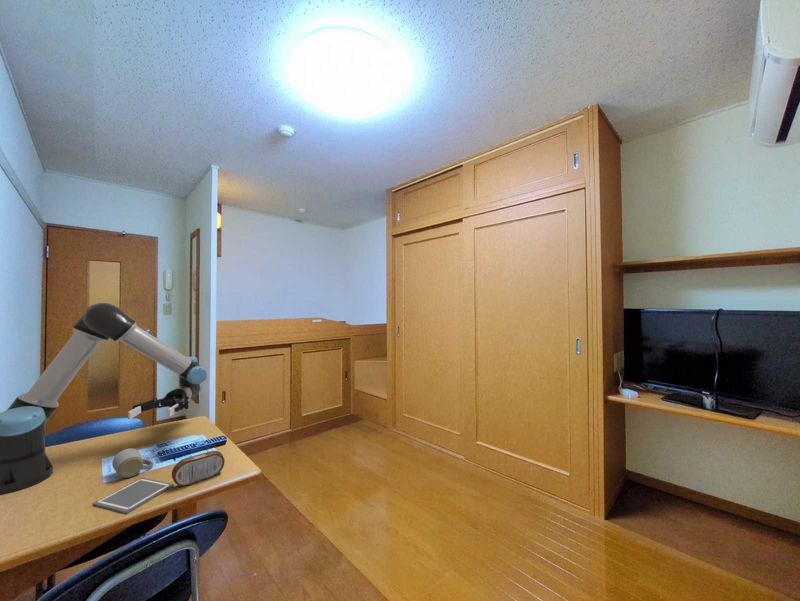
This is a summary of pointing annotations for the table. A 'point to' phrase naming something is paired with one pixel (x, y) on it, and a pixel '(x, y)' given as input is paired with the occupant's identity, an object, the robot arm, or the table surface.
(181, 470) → the tin
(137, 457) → the ceramic mug
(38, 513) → the table surface
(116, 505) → the card
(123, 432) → the table surface
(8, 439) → the robot arm
